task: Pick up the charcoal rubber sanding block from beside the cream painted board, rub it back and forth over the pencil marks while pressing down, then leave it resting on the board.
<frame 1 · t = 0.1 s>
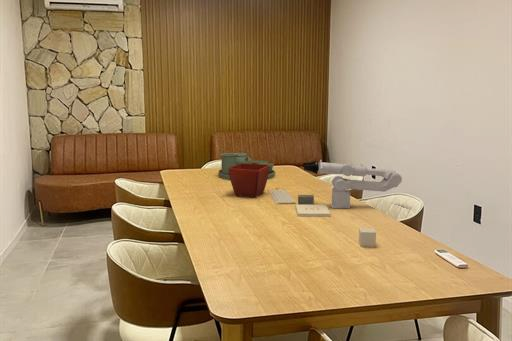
hand: (303, 166, 256), 22 cm above the table, tool horizontal, fingers open, 7 cm apart
baseboard molding: (280, 199, 280), on the table
tea set: (246, 176, 345), on the table
board: (312, 211, 249), on the table
light gray cube: (366, 244, 200), on the table
plant pot: (249, 195, 287), on the table
sanding block: (305, 204, 264), on the table
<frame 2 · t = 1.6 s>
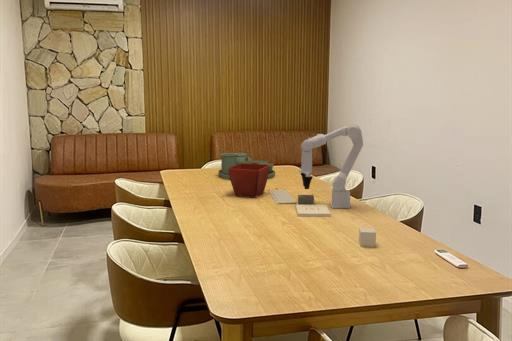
hand: (306, 187, 262), 9 cm above the table, tool pointing down, fingers open, 7 cm apart
nothing on the table moved.
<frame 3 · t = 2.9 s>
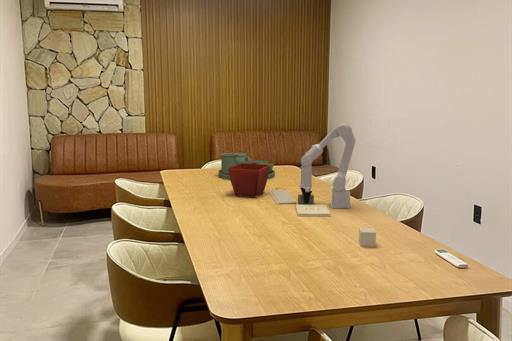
hand: (305, 202, 264), 1 cm above the table, tool pointing down, fingers closed on sanding block, 5 cm apart
sanding block: (305, 204, 264), on the table, touching gripper
everything else where it was.
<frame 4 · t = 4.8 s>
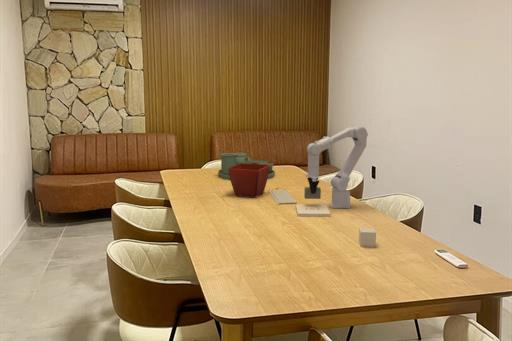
hand: (312, 192, 255), 8 cm above the table, tool pointing down, fingers closed on sanding block, 5 cm apart
sanding block: (312, 197, 256), point 5 cm above the table, touching gripper
everything else where it was.
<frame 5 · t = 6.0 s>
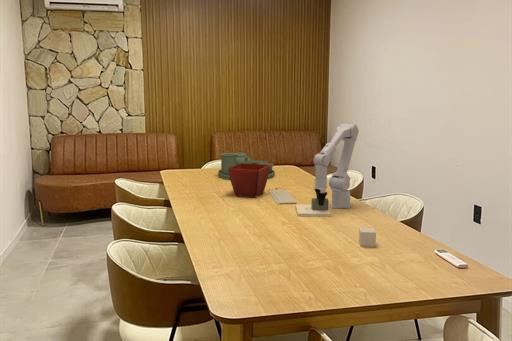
hand: (320, 204, 248), 4 cm above the table, tool pointing down, fingers closed on sanding block, 5 cm apart
sanding block: (319, 208, 249), point 2 cm above the table, touching board, gripper
everything else where it was.
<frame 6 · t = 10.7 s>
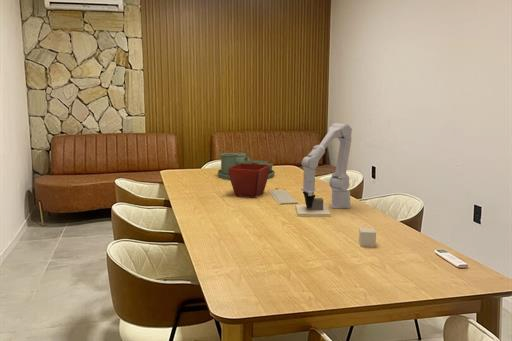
hand: (308, 206, 249), 3 cm above the table, tool pointing down, fingers closed on sanding block, 5 cm apart
sanding block: (314, 208, 249), point 2 cm above the table, touching board, gripper
everything else where it was.
when the fingers open (4 cm above the table, at t = 11.5 s): sanding block stays where it is, resting on board.
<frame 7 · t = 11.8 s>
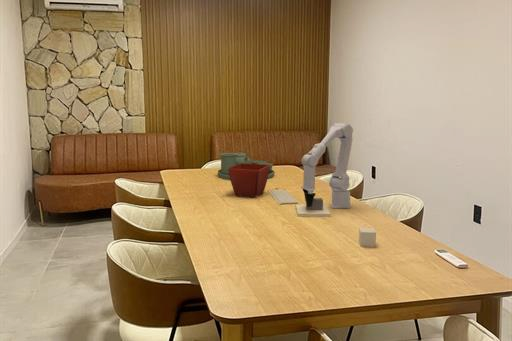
hand: (308, 204, 248), 4 cm above the table, tool pointing down, fingers open, 7 cm apart
sanding block: (314, 208, 249), point 2 cm above the table, touching board
everything else where it was.
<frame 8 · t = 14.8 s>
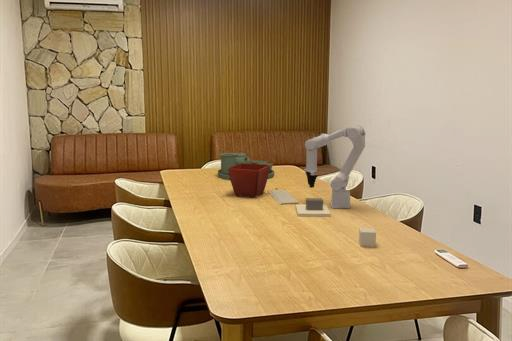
hand: (310, 185, 266), 9 cm above the table, tool pointing down, fingers open, 7 cm apart
nothing on the table moved.
at the end: sanding block inside the target area on the board (0.9 cm from its centre), point 1.5 cm above the board's base; the gripper is holding nothing; sanding block tilted 0° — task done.
